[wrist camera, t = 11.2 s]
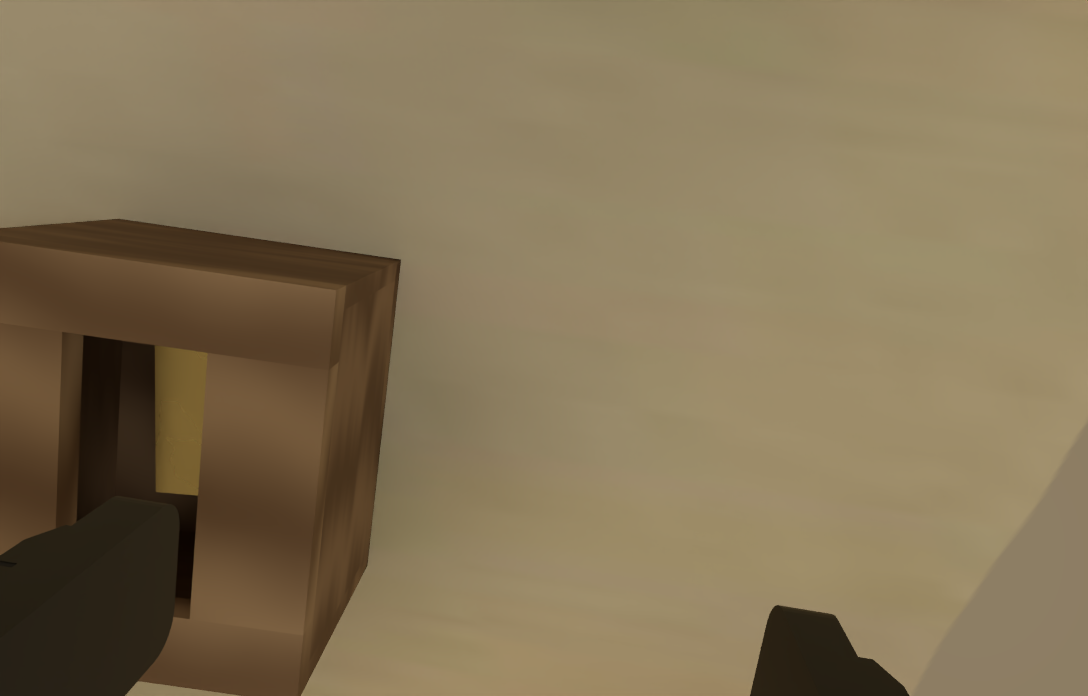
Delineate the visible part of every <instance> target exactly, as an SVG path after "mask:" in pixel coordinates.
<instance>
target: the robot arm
mask: <svg viewBox="0 0 1088 696" xmlns="http://www.w3.org/2000/svg"><path fill="white" fill-rule="evenodd" d="M179 523H180V521H179V514H178V511H177V508H176V507H175V506H174V505H172V504H166V503H159V502H153V501H147V500H141V499H135V498H129V497H123V496H115V497H112V498H111V499H109V500H108V501H106V502H105V503H103V504H102V505H100V506H99V507H97V508H96V509H95V510H93V511H92V512H90V513H89V514H87V515H86V516H85V517H83V518H82V519H80V520H79V521H77V522H76V523H75V524H73V525H72V526H70V525H64V526H61V527H58V528H55V529H52V530H50V531H47V532H44V533H41V534H38V535H35V536H33V537H30V538H27V539H24V540H23V541H21V542H20V543H18V544H17V545H15V546H14V547H12V548H11V549H9V550H8V551H6V552H5V553H3V554H2V555H0V696H125V695H126V694H127V693H128V691H129V690H130V689H131V688H132V687H133V686H134V685H135V683H136V682H137V681H138V680H139V679H140V678H141V677H142V675H143V674H144V673H145V672H146V671H147V670H148V669H149V667H150V666H151V665H152V664H153V663H154V662H155V660H156V659H157V658H158V656H159V655H160V653H161V651H162V649H163V648H164V645H165V643H166V641H167V638H168V636H169V633H170V629H171V626H172V622H173V616H174V608H175V591H176V575H177V559H178V542H179ZM750 696H909V694H908V693H907V691H906V689H905V688H904V686H903V685H902V684H900V683H899V682H898V681H897V680H896V679H895V678H894V677H892V676H891V675H890V674H889V673H888V672H887V671H886V670H884V669H883V668H882V667H881V666H880V665H879V664H878V663H876V662H875V661H874V660H873V659H867V658H861V657H858V656H857V654H856V652H855V650H854V649H853V647H852V645H851V643H850V641H849V639H848V638H847V636H846V634H845V632H844V630H843V628H842V627H841V625H840V623H839V621H838V619H837V618H836V616H834V615H833V614H828V613H822V612H816V611H810V610H804V609H798V608H791V607H785V606H779V605H777V606H775V607H774V608H773V609H772V611H771V613H770V615H769V618H768V621H767V625H766V629H765V633H764V638H763V642H762V646H761V651H760V655H759V659H758V664H757V668H756V672H755V677H754V681H753V685H752V690H751V694H750Z"/></svg>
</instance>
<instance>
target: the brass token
mask: <svg viewBox="0 0 1088 696" xmlns="http://www.w3.org/2000/svg"><path fill="white" fill-rule="evenodd" d="M207 355H208V353H205V352H198V351H191V350H184V349H177V348H170V347H163V346H157V345H155V453H156V492H162V493H174V494H186V495H197V496H198V488H199V474H200V459H201V444H202V429H203V414H204V399H205V385H206V370H207Z"/></svg>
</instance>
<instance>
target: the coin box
mask: <svg viewBox="0 0 1088 696" xmlns="http://www.w3.org/2000/svg"><path fill="white" fill-rule="evenodd" d="M400 263H401V260H399V259H392V258H385V257H378V256H371V255H364V254H357V253H350V252H343V251H336V250H330V249H323V248H316V247H309V246H302V245H295V244H288V243H281V242H274V241H267V240H261V239H254V238H247V237H240V236H233V235H226V234H219V233H212V232H205V231H198V230H192V229H185V228H178V227H171V226H164V225H157V224H150V223H143V222H136V221H129V220H123V219H112V220H100V221H87V222H75V223H62V224H50V225H37V226H25V227H12V228H0V555H2V554H3V553H5V552H6V551H8V550H9V549H11V548H12V547H14V546H15V545H17V544H18V543H20V542H21V541H23V540H24V539H27V538H30V537H33V536H35V535H38V534H41V533H44V532H47V531H50V530H52V529H55V528H58V527H61V526H64V525H70V526H72V525H73V524H75V523H76V522H77V521H79V520H80V519H82V518H83V517H85V516H86V515H87V514H89V513H90V512H92V511H93V510H95V509H96V508H97V507H99V506H100V505H102V504H103V503H105V502H106V501H108V500H109V499H111V498H112V497H115V496H123V497H129V498H135V499H141V500H147V501H153V502H159V503H166V504H172V505H174V506H175V507H176V508H177V511H178V514H179V521H180V523H179V542H178V559H177V575H176V591H175V608H174V616H173V622H172V626H171V629H170V633H169V636H168V638H167V641H166V643H165V645H164V648H163V649H162V651H161V653H160V655H159V656H158V658H157V659H156V660H155V662H154V663H153V664H152V665H151V666H150V667H149V669H148V670H147V671H146V672H145V673H144V674H143V675H142V677H141V678H140V679H139V680H138V681H142V682H149V683H156V684H163V685H171V686H178V687H185V688H192V689H199V690H206V691H213V692H220V693H227V694H234V695H241V696H301V694H302V692H303V690H304V688H305V686H306V684H307V682H308V680H309V678H310V676H311V674H312V672H313V670H314V668H315V666H316V665H317V663H318V661H319V659H320V657H321V655H322V653H323V651H324V649H325V647H326V645H327V643H328V641H329V639H330V637H331V635H332V633H333V631H334V629H335V627H336V625H337V624H338V622H339V620H340V618H341V616H342V614H343V612H344V610H345V608H346V606H347V604H348V602H349V600H350V598H351V596H352V594H353V592H354V590H355V588H356V586H357V584H358V583H359V581H360V579H361V577H362V575H363V573H364V571H365V569H366V567H367V563H368V554H369V545H370V536H371V526H372V517H373V508H374V499H375V490H376V481H377V472H378V463H379V454H380V445H381V436H382V426H383V417H384V408H385V399H386V390H387V381H388V372H389V363H390V354H391V345H392V336H393V327H394V317H395V308H396V299H397V290H398V281H399V272H400ZM155 345H157V346H163V347H170V348H177V349H184V350H191V351H198V352H205V353H208V355H207V370H206V385H205V399H204V414H203V429H202V444H201V459H200V474H199V488H198V496H197V495H186V494H174V493H162V492H156V453H155Z"/></svg>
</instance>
